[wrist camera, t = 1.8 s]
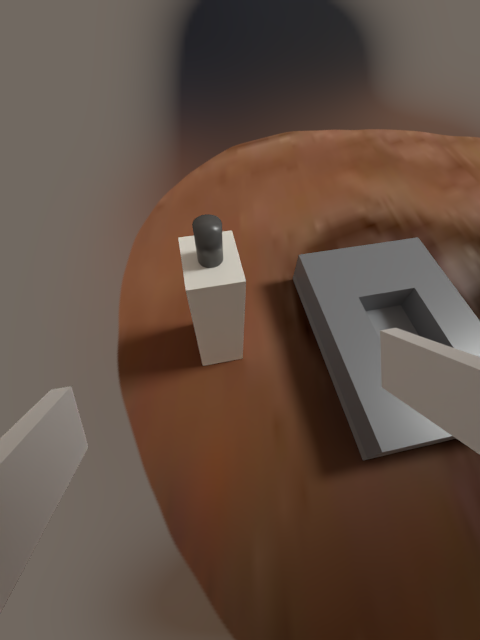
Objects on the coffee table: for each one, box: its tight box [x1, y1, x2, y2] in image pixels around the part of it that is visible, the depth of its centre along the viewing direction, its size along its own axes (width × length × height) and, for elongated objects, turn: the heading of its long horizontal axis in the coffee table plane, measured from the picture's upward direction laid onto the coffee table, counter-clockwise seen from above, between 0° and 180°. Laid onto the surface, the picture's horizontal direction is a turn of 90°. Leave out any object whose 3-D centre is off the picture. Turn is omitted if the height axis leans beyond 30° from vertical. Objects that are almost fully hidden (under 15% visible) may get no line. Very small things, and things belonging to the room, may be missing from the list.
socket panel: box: [293, 238, 480, 460], centre depth 30 cm, size 14×20×4 cm
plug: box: [178, 215, 246, 366], centre depth 25 cm, size 4×5×15 cm
